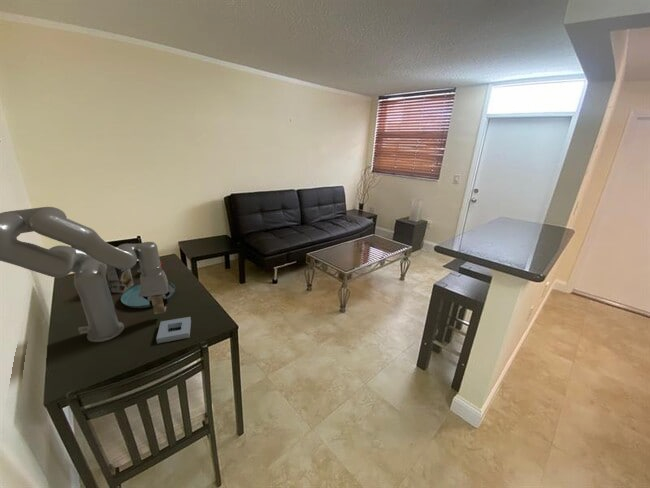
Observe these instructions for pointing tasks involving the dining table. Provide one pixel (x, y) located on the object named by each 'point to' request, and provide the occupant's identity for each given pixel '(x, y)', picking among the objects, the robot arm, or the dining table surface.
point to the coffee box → (119, 279)
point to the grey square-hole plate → (174, 335)
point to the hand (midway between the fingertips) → (159, 305)
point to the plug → (158, 304)
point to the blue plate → (134, 300)
